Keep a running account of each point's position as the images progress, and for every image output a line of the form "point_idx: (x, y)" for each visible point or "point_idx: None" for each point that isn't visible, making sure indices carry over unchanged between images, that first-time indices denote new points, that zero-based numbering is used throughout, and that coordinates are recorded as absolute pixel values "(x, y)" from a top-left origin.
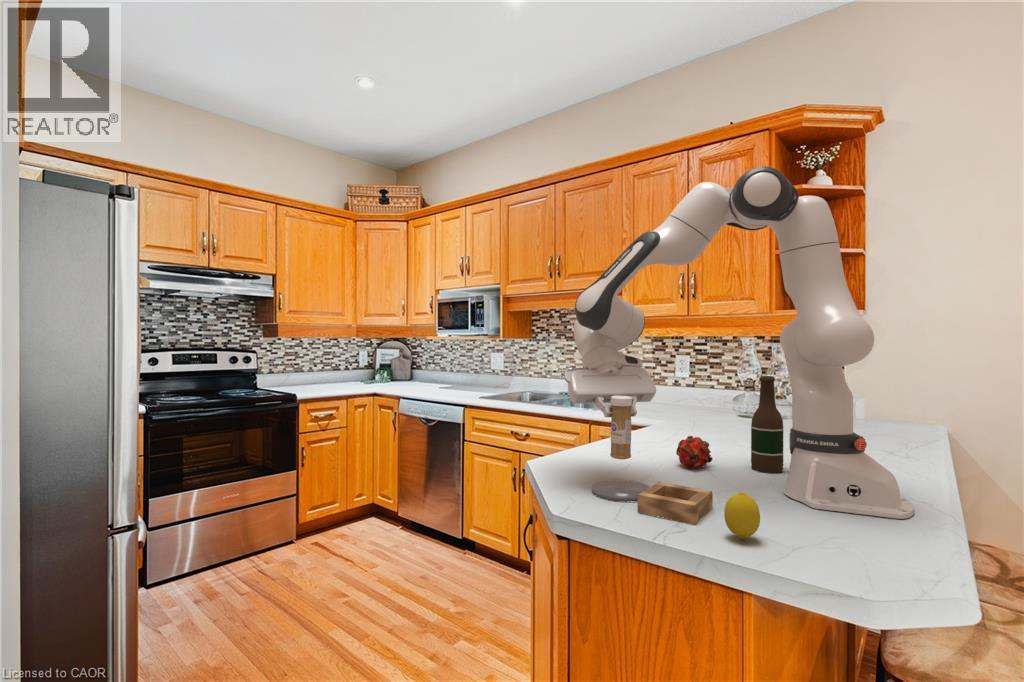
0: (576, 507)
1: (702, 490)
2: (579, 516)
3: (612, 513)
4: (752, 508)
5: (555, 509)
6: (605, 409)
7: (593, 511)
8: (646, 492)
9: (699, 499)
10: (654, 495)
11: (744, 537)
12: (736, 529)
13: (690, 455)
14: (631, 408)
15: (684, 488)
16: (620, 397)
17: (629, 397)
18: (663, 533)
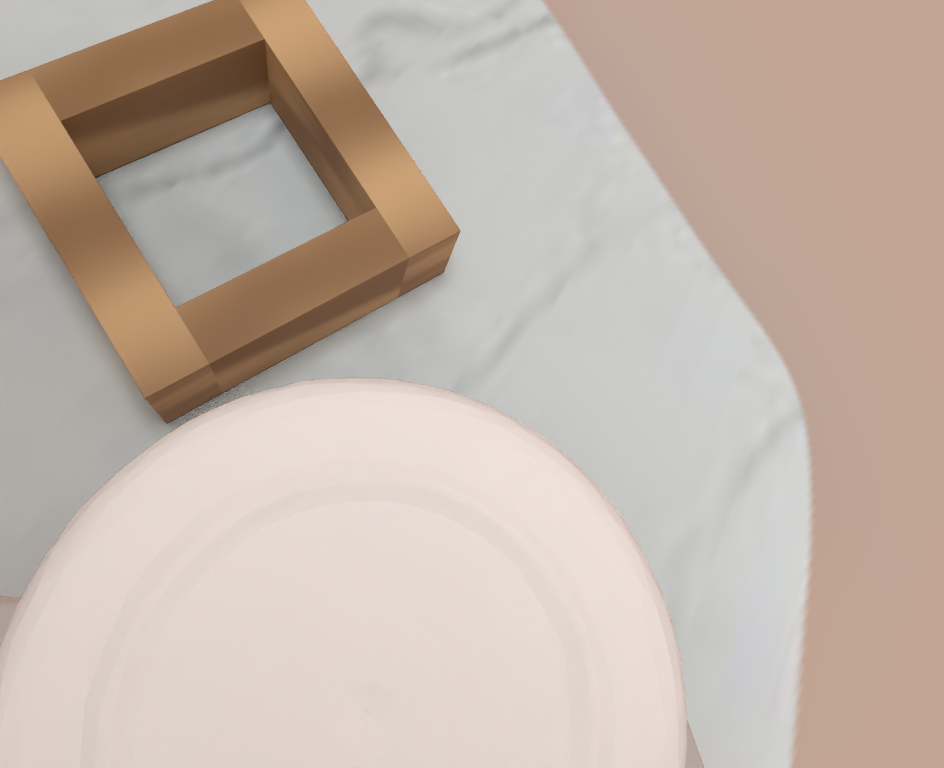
0: (700, 462)
1: (18, 127)
2: (732, 340)
3: (567, 313)
4: None
5: (809, 474)
6: (689, 752)
7: (643, 375)
8: (387, 239)
9: (183, 24)
10: (378, 178)
11: None
12: None
13: None
14: None
15: (96, 205)
16: (517, 510)
17: (218, 447)
18: (485, 36)
